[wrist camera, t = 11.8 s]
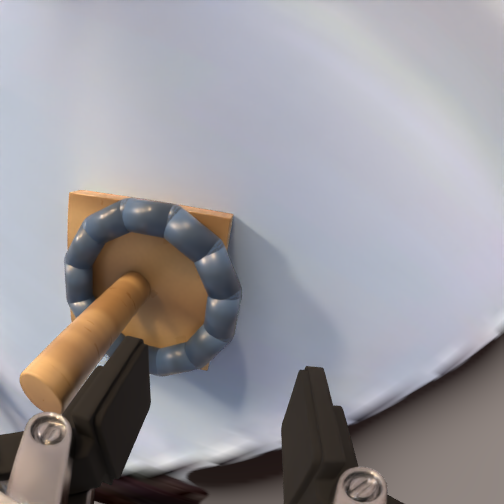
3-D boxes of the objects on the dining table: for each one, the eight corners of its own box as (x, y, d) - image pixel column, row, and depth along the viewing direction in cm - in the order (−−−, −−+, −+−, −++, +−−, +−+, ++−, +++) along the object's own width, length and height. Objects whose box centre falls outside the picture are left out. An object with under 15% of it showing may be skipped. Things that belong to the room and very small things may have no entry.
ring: (76, 187, 14) (59, 190, 13) (256, 215, 14) (255, 222, 13) (79, 340, 17) (68, 353, 15) (226, 377, 17) (223, 395, 15)
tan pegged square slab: (80, 189, 15) (-65, 231, 6) (233, 214, 16) (185, 304, 6) (81, 325, 18) (-8, 424, 8) (210, 359, 18) (175, 503, 8)
